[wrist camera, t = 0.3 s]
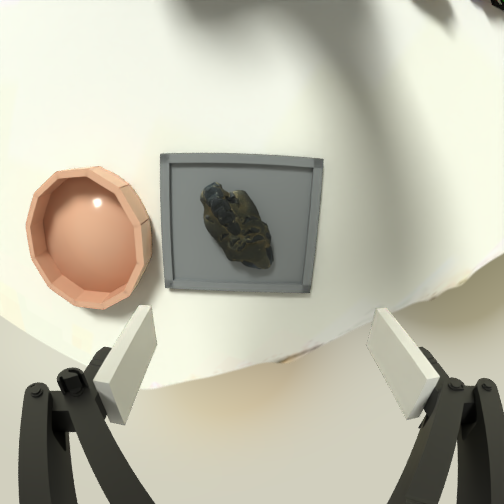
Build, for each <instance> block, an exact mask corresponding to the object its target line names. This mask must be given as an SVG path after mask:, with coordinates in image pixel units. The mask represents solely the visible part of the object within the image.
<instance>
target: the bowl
mask: <svg viewBox="0 0 504 504" xmlns="http://www.w3.org/2000/svg"><path fill="white" fill-rule="evenodd" d="M26 232H27V238H28V245H29V250H30V256H31V258H32V261H33V263H34V265H35V266H36V268H37V270H38V271H39V273H40V275H41V276H42V278H43V279H44V281H45V283H46V284H47V286H48V287H49V288H50V289H51V290H53V291H54V292H55V293H57V294H58V295H60V296H61V297H62V298H64V299H65V300H67V301H68V302H70V303H71V304H72V305H74V306H78V307H85V308H93V309H102V310H105V309H106V308H108V307H110V306H112V305H114V304H116V303H118V302H119V301H121V300H123V299H125V298H127V297H129V296H130V295H131V293H132V292H133V291H134V289H135V288H136V286H137V285H138V283H139V281H140V279H141V277H142V275H143V273H144V271H145V270H146V267H147V265H148V263H149V261H150V259H151V257H152V251H151V248H152V233H151V226H150V219H149V216H148V215H147V212H146V209H145V207H144V205H143V203H142V201H141V199H140V198H139V196H138V195H137V193H136V192H135V191H134V190H133V188H132V187H131V185H129V183H127V182H126V181H125V180H124V179H122V178H121V177H119V176H118V175H116V174H114V173H112V172H110V171H108V170H106V169H104V168H102V167H99V166H96V167H84V168H74V169H67V170H62V171H57V172H55V173H54V174H53V175H52V176H51V177H50V178H49V179H48V180H47V181H46V182H45V183H44V184H43V185H42V186H41V187H40V188H39V189H38V190H37V191H36V192H35V193H34V195H33V198H32V202H31V206H30V209H29V213H28V217H27V221H26Z"/></svg>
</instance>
